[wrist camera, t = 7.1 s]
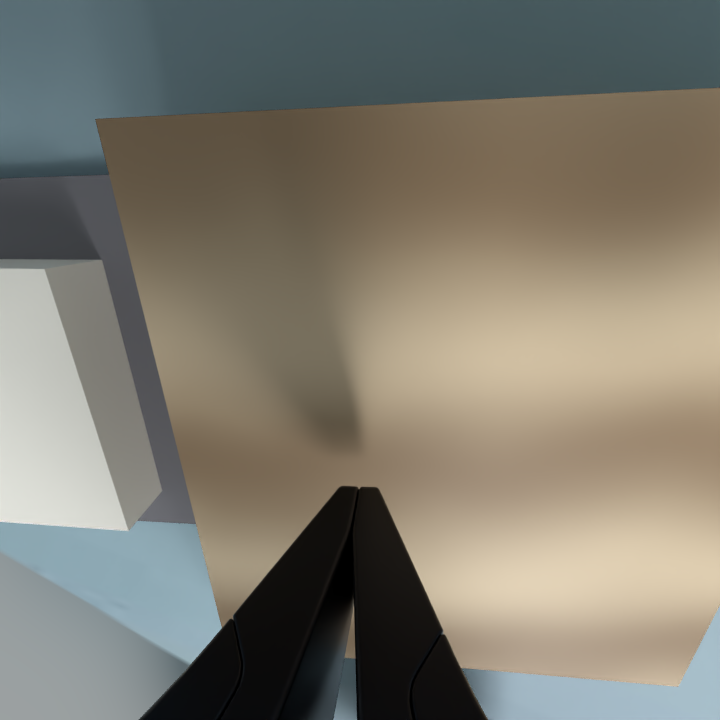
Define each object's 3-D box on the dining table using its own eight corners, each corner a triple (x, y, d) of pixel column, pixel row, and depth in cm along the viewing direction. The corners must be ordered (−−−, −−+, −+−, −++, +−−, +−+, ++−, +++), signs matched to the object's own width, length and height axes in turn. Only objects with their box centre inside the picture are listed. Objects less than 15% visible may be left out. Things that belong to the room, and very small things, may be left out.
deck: (606, 566, 15) (678, 686, 11) (266, 546, 16) (226, 647, 12) (745, 131, 9) (991, 73, 5) (203, 153, 10) (95, 119, 7)
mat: (261, 520, 15) (258, 527, 15) (43, 508, 16) (34, 514, 16) (206, 172, 10) (199, 171, 10) (-102, 183, 11) (-119, 182, 11)
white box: (-27, 519, 13) (24, 482, 15) (128, 530, 13) (162, 490, 15) (-160, 266, 10) (-73, 258, 12) (44, 269, 9) (101, 259, 11)
